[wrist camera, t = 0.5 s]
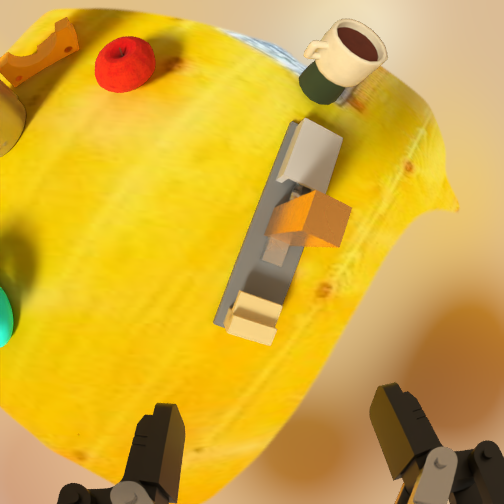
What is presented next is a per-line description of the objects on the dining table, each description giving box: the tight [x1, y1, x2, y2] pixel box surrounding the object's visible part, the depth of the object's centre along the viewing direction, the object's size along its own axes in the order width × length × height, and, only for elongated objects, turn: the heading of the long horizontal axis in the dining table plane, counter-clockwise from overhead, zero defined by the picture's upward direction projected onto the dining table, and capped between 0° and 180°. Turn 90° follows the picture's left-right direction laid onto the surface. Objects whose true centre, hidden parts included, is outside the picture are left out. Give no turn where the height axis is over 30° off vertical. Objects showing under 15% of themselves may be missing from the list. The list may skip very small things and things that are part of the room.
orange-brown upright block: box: [260, 183, 352, 267], centre depth 28 cm, size 17×4×12 cm, turn 159°
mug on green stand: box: [299, 19, 388, 105], centre depth 30 cm, size 11×7×13 cm, turn 99°
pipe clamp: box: [0, 17, 79, 87], centre depth 24 cm, size 12×4×6 cm, turn 113°
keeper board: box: [213, 118, 343, 346], centre depth 33 cm, size 27×7×5 cm, turn 159°
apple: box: [95, 36, 156, 93], centre depth 27 cm, size 8×8×7 cm
